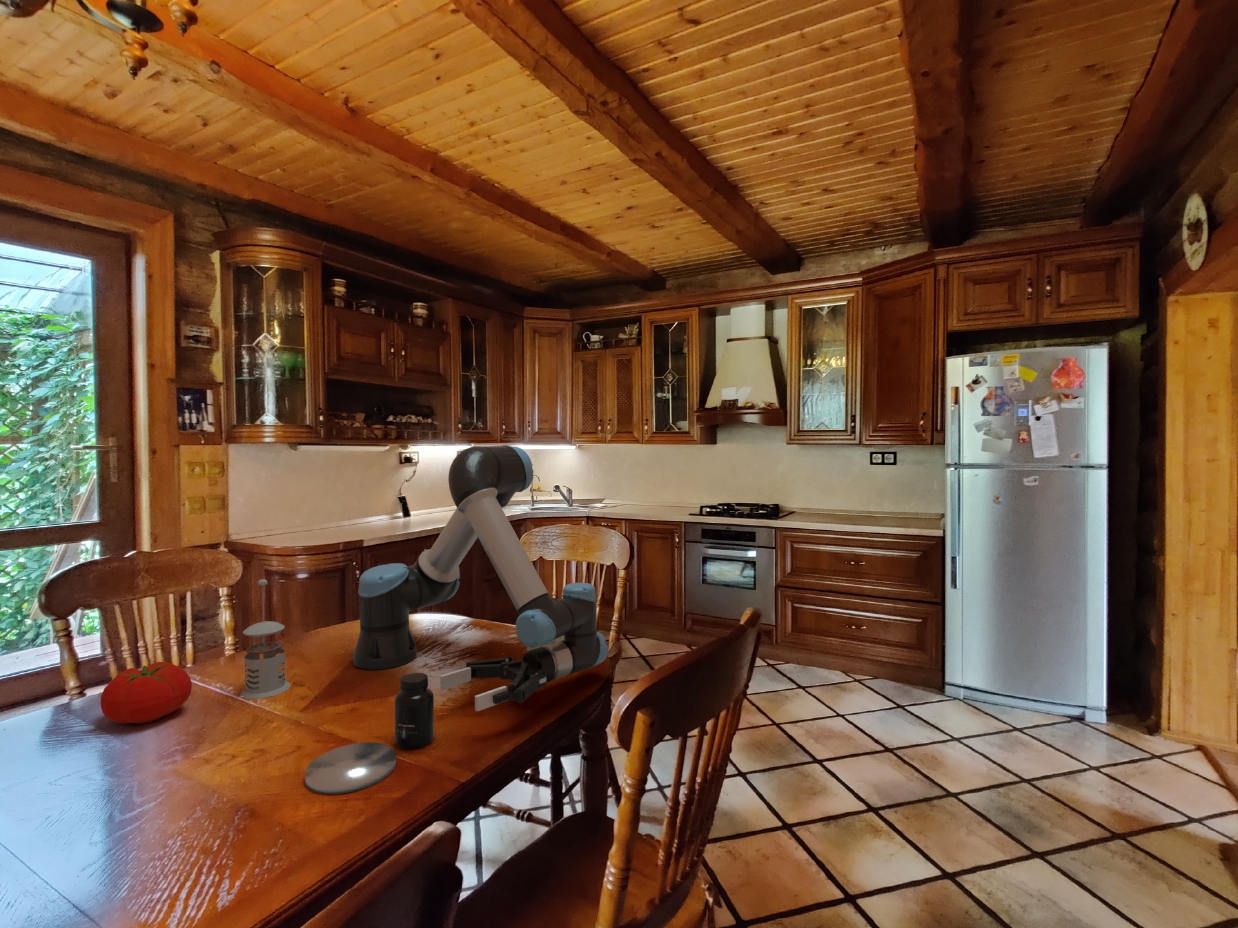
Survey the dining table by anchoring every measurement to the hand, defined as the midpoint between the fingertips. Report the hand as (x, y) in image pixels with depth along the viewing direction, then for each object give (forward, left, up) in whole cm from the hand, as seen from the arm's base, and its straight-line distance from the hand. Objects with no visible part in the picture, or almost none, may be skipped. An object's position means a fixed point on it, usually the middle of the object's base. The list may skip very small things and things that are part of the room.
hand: (457, 692), depth 116 cm
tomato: (-48, -44, -7) cm, 65 cm away
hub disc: (+2, -21, -7) cm, 22 cm away
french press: (-47, -23, -7) cm, 53 cm away
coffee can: (-18, +34, -7) cm, 40 cm away
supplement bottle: (0, -9, -7) cm, 11 cm away
